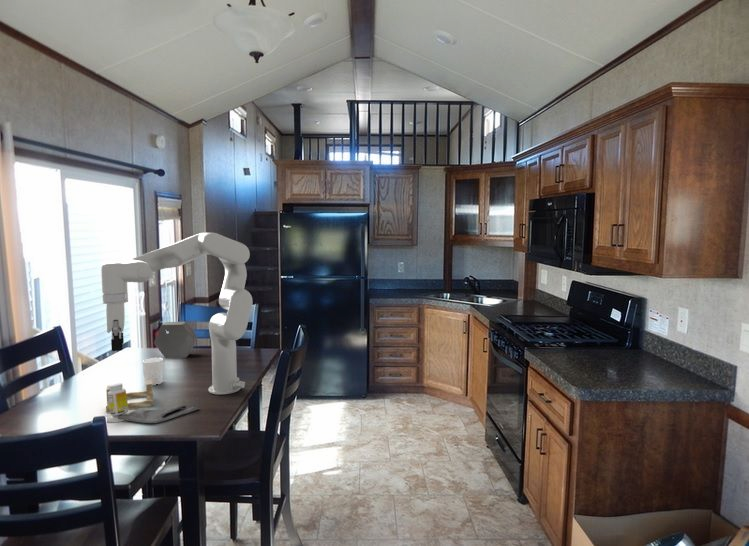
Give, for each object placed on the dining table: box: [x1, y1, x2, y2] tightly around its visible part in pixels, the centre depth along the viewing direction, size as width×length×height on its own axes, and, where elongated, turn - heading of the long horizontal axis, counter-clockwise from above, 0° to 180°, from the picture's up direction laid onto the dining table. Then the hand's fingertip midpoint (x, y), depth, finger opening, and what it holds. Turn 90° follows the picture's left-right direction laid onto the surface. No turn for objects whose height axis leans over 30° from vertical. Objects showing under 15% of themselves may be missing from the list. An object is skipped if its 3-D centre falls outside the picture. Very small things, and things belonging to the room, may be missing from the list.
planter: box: [153, 321, 198, 359], centre depth 239 cm, size 17×8×21 cm
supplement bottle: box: [108, 382, 129, 416], centre depth 160 cm, size 6×6×10 cm
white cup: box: [142, 357, 164, 386], centre depth 196 cm, size 8×8×10 cm
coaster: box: [104, 409, 134, 424], centre depth 160 cm, size 10×10×1 cm
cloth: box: [118, 404, 200, 424], centre depth 160 cm, size 26×14×2 cm, turn 100°
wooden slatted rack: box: [105, 380, 154, 413], centre depth 173 cm, size 15×13×7 cm
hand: (117, 347), depth 159 cm, fingers open, 9 cm apart
